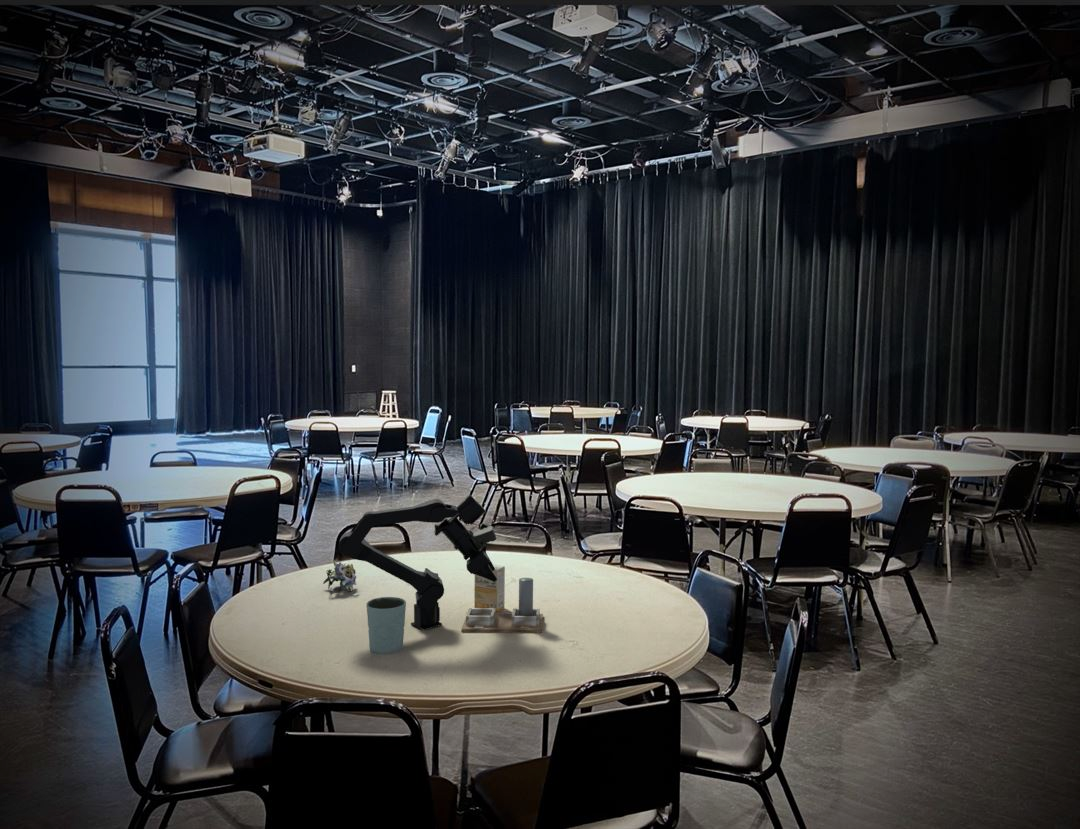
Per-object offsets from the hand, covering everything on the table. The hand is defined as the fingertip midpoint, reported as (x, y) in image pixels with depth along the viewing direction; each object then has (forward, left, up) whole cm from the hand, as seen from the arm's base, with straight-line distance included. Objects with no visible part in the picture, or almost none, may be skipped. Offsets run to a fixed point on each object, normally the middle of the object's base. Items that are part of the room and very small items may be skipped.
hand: (494, 575), depth 225 cm
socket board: (0, -4, -13) cm, 14 cm away
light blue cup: (-35, +2, -13) cm, 37 cm away
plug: (+4, -8, -12) cm, 15 cm away
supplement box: (+6, +10, -13) cm, 18 cm away
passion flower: (-16, +59, -13) cm, 63 cm away
